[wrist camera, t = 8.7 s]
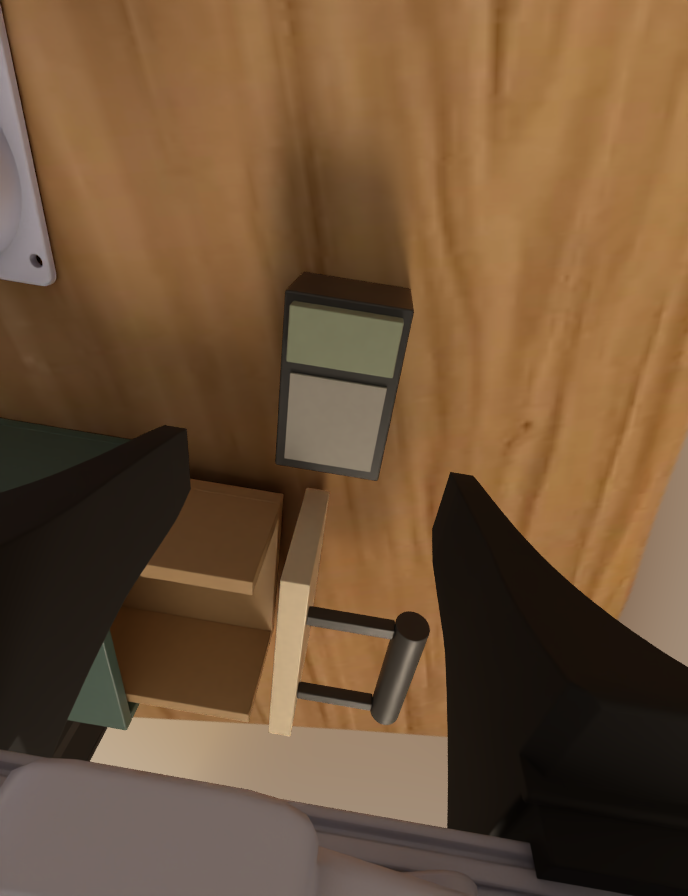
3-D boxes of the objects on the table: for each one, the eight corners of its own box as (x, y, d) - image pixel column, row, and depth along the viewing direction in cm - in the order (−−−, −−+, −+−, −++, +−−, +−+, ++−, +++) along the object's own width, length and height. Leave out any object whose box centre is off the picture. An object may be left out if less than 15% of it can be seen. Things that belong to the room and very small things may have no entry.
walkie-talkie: (61, 677, 36) (-235, 1122, 19) (77, 661, 35) (-229, 1128, 18) (113, 703, 37) (-119, 1138, 20) (131, 688, 36) (-105, 1147, 19)
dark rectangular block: (291, 426, 22) (271, 473, 18) (302, 271, 18) (281, 293, 14) (379, 441, 21) (377, 490, 18) (411, 288, 18) (414, 315, 14)
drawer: (434, 508, 22) (446, 608, 17) (390, 649, 29) (389, 754, 23) (73, 448, 23) (-23, 529, 17) (108, 601, 29) (46, 694, 24)
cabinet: (169, 445, 23) (79, 553, 16) (185, 609, 30) (126, 731, 23) (-98, 401, 23) (-292, 490, 16) (-20, 574, 30) (-135, 685, 23)
